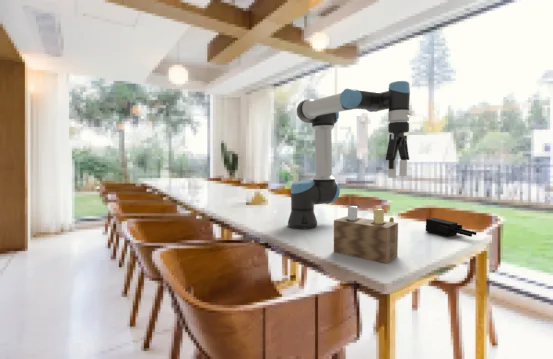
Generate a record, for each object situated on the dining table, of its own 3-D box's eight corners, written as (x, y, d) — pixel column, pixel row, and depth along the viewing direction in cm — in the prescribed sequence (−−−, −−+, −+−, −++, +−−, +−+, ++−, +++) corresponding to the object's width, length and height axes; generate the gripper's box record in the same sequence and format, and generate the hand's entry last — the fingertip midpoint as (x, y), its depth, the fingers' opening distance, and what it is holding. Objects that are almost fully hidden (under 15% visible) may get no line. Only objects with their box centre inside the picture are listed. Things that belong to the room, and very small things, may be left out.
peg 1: (346, 233, 115) (346, 206, 115) (350, 231, 118) (350, 205, 117) (354, 234, 113) (354, 207, 112) (358, 232, 116) (358, 206, 115)
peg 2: (371, 237, 109) (372, 209, 108) (375, 235, 111) (376, 208, 111) (381, 239, 107) (381, 210, 106) (384, 237, 109) (385, 209, 108)
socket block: (333, 251, 116) (333, 220, 115) (346, 246, 123) (346, 216, 122) (386, 263, 102) (387, 227, 102) (397, 256, 110) (398, 222, 109)
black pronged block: (480, 240, 132) (436, 229, 149) (481, 226, 131) (437, 217, 149) (466, 244, 127) (422, 232, 144) (467, 229, 126) (423, 219, 143)
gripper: (398, 118, 108) (397, 178, 110) (417, 124, 127) (416, 175, 129) (377, 120, 113) (376, 178, 114) (398, 125, 132) (398, 175, 134)
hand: (397, 176), depth 122 cm, fingers open, 13 cm apart
